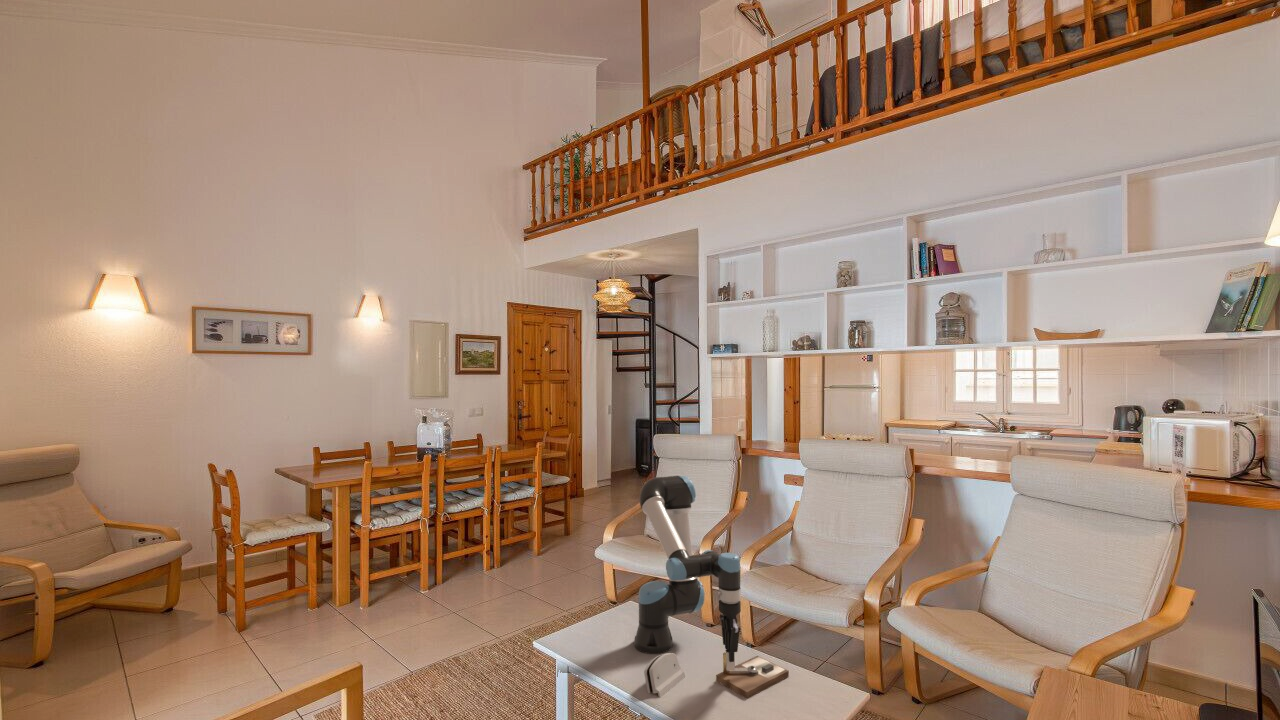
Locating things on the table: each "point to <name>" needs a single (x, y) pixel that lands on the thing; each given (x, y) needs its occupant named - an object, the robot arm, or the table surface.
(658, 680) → the hinge
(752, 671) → the swing bar
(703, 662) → the table surface
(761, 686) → the board
